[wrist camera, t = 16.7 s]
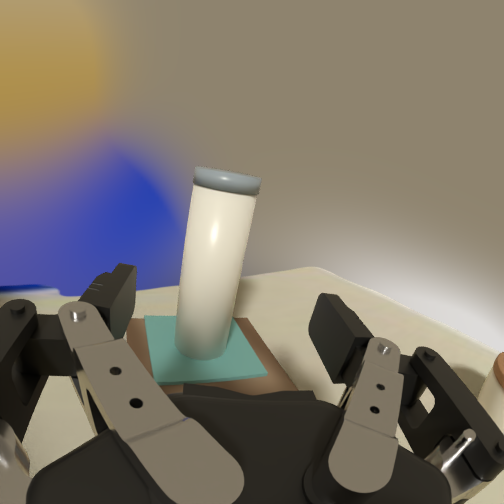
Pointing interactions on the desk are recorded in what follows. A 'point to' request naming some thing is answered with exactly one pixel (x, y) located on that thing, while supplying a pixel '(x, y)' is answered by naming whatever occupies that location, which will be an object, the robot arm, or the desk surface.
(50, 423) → the desk surface
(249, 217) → the capped cream cylinder
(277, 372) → the base board
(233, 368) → the mat
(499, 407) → the lidded jar
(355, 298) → the desk surface
